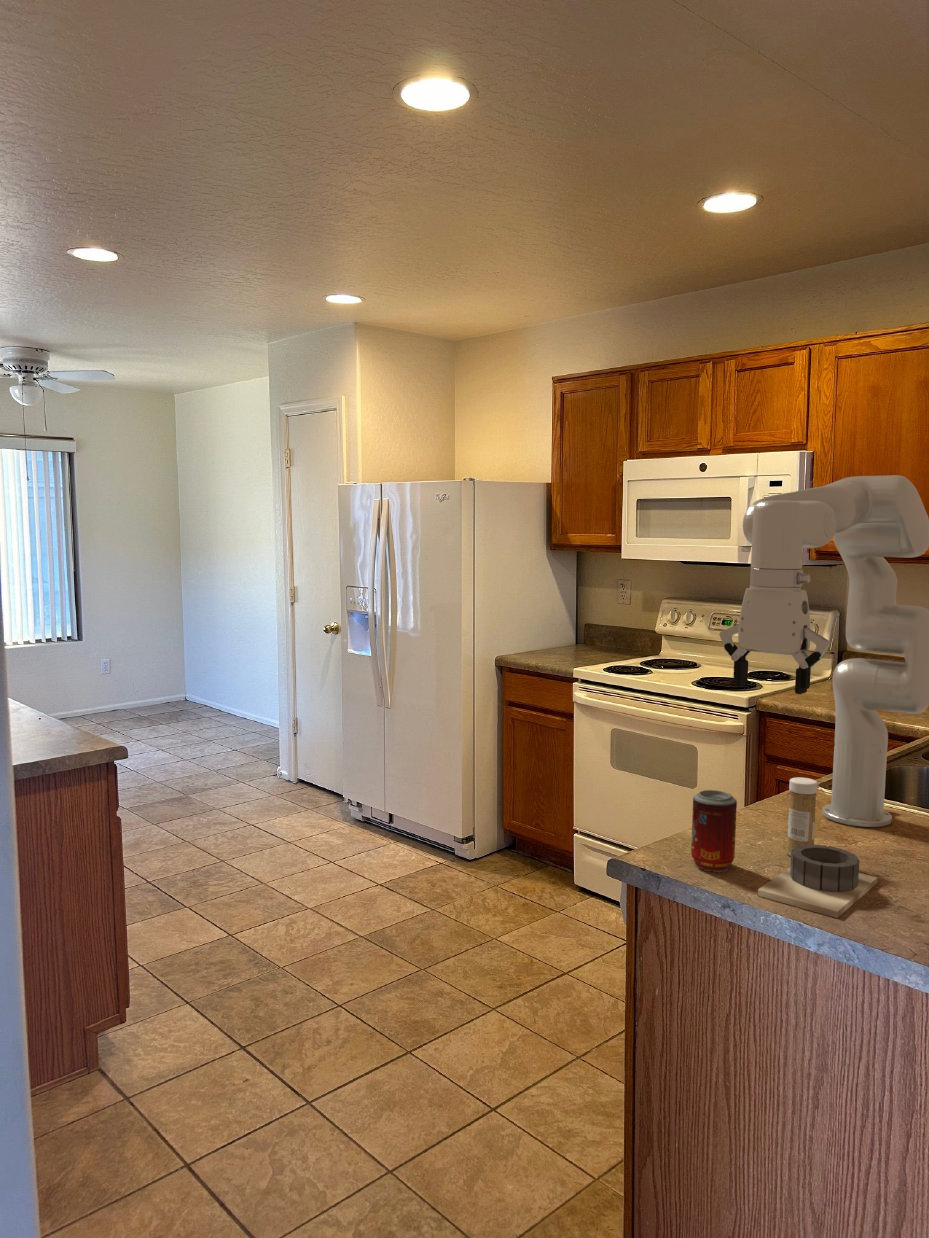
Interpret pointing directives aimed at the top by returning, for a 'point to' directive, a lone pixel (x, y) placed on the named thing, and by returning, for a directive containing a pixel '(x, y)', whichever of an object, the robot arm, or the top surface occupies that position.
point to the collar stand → (820, 880)
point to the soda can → (713, 830)
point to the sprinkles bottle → (801, 812)
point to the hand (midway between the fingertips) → (770, 689)
